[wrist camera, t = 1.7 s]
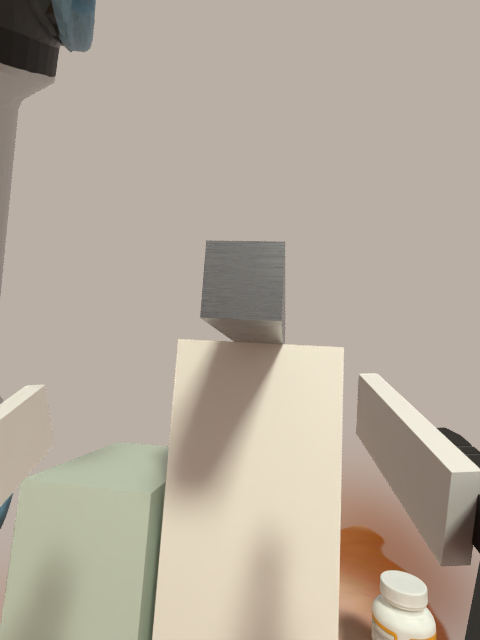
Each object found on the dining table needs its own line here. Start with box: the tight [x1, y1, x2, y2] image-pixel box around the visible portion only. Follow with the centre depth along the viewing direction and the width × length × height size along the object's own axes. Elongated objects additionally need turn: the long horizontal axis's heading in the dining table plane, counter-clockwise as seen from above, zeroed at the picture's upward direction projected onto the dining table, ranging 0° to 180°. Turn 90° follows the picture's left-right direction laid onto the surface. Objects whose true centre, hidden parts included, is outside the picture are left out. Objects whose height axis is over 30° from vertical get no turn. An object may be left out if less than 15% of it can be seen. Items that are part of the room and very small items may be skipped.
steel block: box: [200, 241, 285, 344], centre depth 31 cm, size 30×4×4 cm, turn 173°
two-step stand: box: [0, 339, 344, 640], centre depth 33 cm, size 16×23×30 cm
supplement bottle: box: [372, 571, 436, 640], centre depth 33 cm, size 5×5×10 cm
